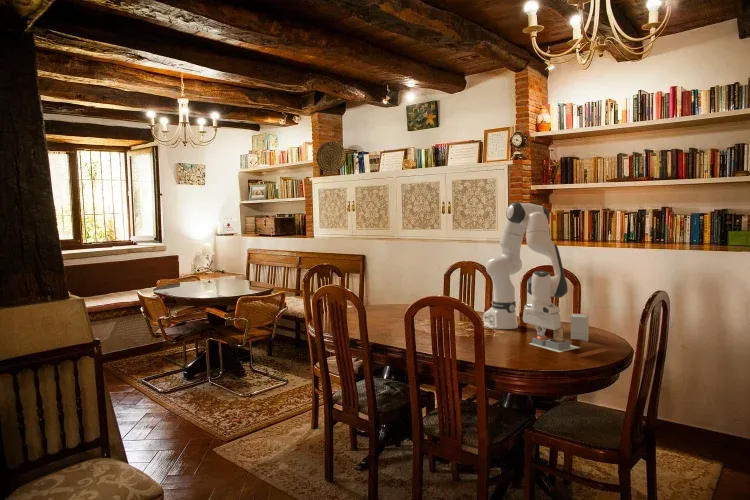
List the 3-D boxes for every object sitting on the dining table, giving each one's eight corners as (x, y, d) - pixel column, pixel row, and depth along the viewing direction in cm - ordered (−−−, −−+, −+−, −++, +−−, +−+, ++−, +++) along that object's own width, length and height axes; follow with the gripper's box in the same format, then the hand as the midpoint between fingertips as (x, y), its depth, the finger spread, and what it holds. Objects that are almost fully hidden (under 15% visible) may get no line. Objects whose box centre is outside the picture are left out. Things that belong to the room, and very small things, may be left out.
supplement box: (588, 339, 254) (589, 314, 253) (586, 343, 248) (586, 317, 247) (572, 338, 258) (573, 313, 257) (570, 341, 252) (570, 315, 251)
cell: (551, 346, 238) (552, 325, 237) (556, 345, 240) (557, 324, 239) (559, 348, 234) (559, 327, 234) (564, 347, 237) (565, 326, 236)
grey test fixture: (528, 346, 245) (528, 337, 244) (549, 342, 251) (549, 333, 251) (559, 355, 229) (559, 345, 229) (580, 350, 236) (580, 340, 235)
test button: (535, 341, 245) (535, 336, 244) (541, 340, 247) (541, 335, 246) (542, 343, 241) (542, 338, 241) (548, 341, 243) (548, 336, 243)
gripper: (519, 303, 250) (519, 331, 251) (553, 310, 232) (552, 341, 233) (529, 302, 253) (529, 330, 254) (563, 309, 235) (562, 339, 237)
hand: (540, 335), depth 244 cm, fingers closed
